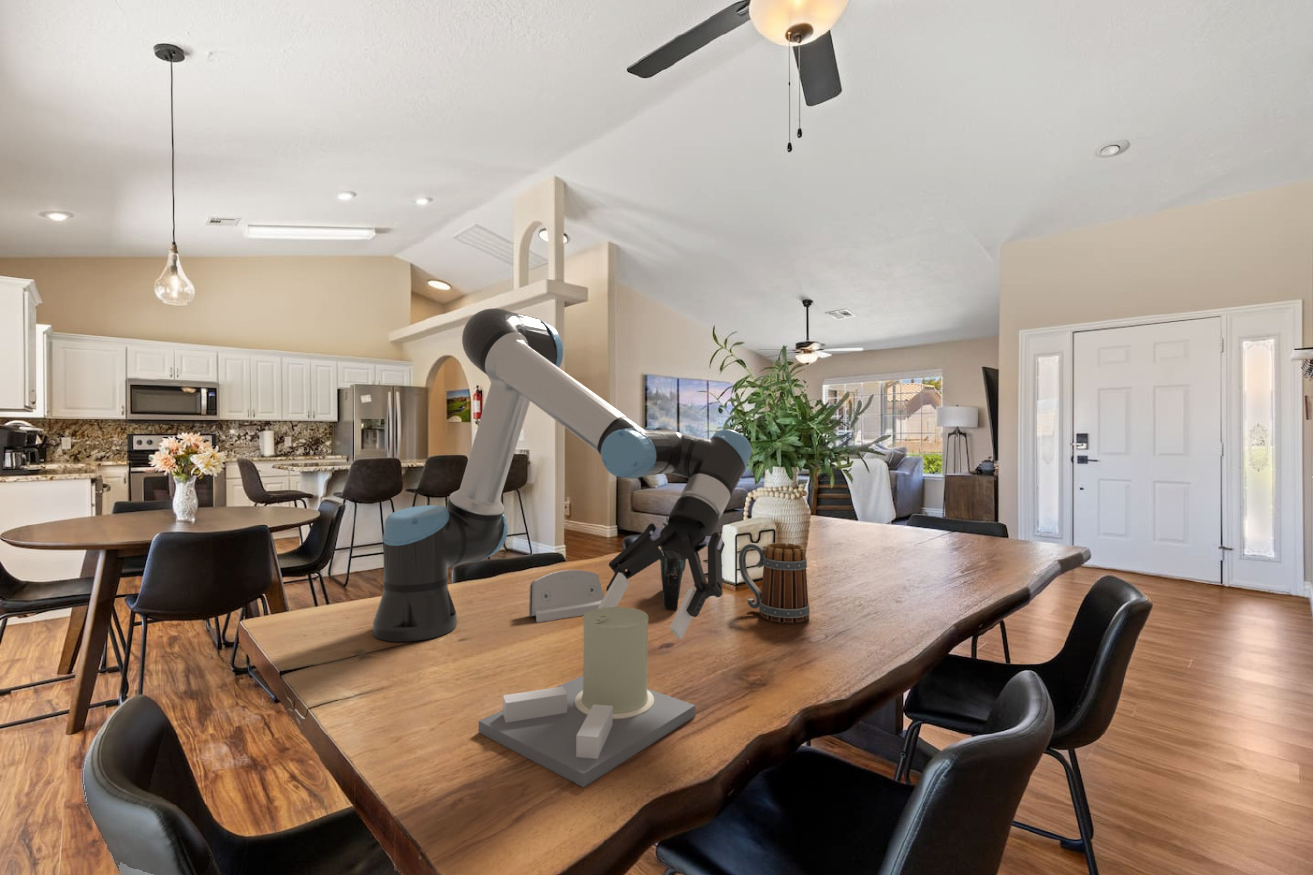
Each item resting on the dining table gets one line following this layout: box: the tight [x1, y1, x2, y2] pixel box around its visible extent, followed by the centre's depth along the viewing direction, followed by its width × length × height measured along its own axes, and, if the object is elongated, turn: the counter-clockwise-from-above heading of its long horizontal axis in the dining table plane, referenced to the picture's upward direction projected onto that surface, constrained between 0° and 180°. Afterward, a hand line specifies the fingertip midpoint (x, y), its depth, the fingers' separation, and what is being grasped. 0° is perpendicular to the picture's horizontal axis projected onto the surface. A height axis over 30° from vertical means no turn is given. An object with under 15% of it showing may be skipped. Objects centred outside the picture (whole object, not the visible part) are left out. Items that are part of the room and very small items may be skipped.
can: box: [582, 606, 650, 714], centre depth 84 cm, size 9×9×12 cm
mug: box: [738, 542, 811, 625], centre depth 130 cm, size 16×11×15 cm
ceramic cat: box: [659, 512, 687, 611], centre depth 141 cm, size 20×6×20 cm, turn 178°
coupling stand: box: [478, 675, 696, 788], centre depth 80 cm, size 19×22×4 cm
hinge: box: [528, 569, 605, 623], centre depth 130 cm, size 17×5×10 cm, turn 120°
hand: (637, 623), depth 87 cm, fingers open, 13 cm apart
